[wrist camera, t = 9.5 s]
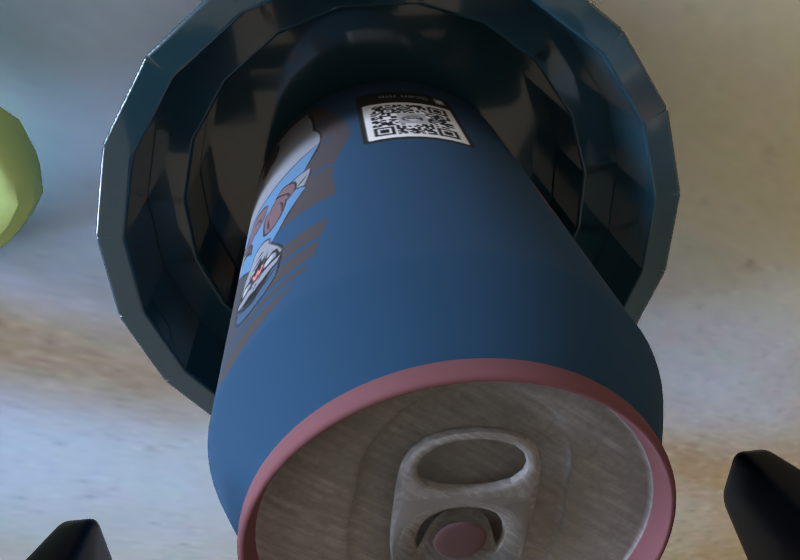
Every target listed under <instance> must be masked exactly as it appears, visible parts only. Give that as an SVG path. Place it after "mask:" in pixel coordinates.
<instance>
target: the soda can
mask: <svg viewBox="0 0 800 560" xmlns="http://www.w3.org/2000/svg"><path fill="white" fill-rule="evenodd" d="M662 434H663V394H662V384H661V379H660V374H659V370H658V367H657V364H656V361H655V357H654V355H653V353H652V350H651V348H650V346H649V344H648V342H647V340H646V339H645V337H644V335H643V333H642V332H641V330H640V329H639V328H638V326H637V325H636V323H635V322H634V321H633V319H632V318H631V317H630V315H629V314H628V312H627V311H626V310H625V308H624V307H623V306H622V304H621V303H620V301H619V300H618V299H617V297H616V296H615V295H614V293H613V292H612V291H611V289H610V288H609V286H608V285H607V284H606V282H605V281H604V280H603V278H602V277H601V275H600V274H599V273H598V271H597V270H596V269H595V267H594V266H593V264H592V263H591V262H590V260H589V259H588V258H587V256H586V255H585V254H584V252H583V251H582V249H581V248H580V247H579V245H578V244H577V243H576V241H575V240H574V238H573V237H572V236H571V234H570V233H569V232H568V230H567V229H566V227H565V226H564V225H563V223H562V222H561V221H560V219H559V218H558V217H557V215H556V214H555V212H554V211H553V210H552V208H551V207H550V206H549V204H548V203H547V201H546V200H545V199H544V197H543V196H542V195H541V193H540V192H539V190H538V189H537V188H536V186H535V185H534V184H533V182H532V181H531V180H530V178H529V177H528V175H527V174H526V173H525V171H524V170H523V169H522V167H521V166H520V164H519V163H518V162H517V160H516V159H515V158H514V156H513V155H512V153H511V152H510V151H509V149H508V148H507V147H506V145H505V144H504V143H503V141H502V140H501V138H500V137H499V136H498V134H497V133H496V132H495V130H494V129H493V127H492V126H491V125H490V124H489V123H488V122H487V121H486V120H485V119H484V118H483V117H482V116H481V115H480V114H479V113H478V112H477V111H476V110H474V109H473V108H472V107H471V106H469V105H468V104H466V103H465V102H463V101H462V100H460V99H458V98H457V97H455V96H453V95H451V94H449V93H447V92H444V91H442V90H439V89H437V88H434V87H431V86H427V85H423V84H419V83H413V82H405V81H376V82H369V83H363V84H359V85H355V86H351V87H348V88H345V89H342V90H340V91H337V92H335V93H332V94H330V95H328V96H326V97H324V98H322V99H321V100H319V101H317V102H316V103H314V104H313V105H311V106H310V107H309V108H307V109H306V110H304V111H303V112H302V113H301V114H300V115H299V116H297V117H296V118H295V119H294V120H293V121H292V122H291V123H290V124H289V125H288V126H287V128H286V129H285V130H284V131H283V132H282V134H281V135H280V136H279V138H278V139H277V141H276V142H275V144H274V145H273V147H272V149H271V150H270V152H269V154H268V156H267V158H266V161H265V163H264V166H263V168H262V171H261V175H260V178H259V183H258V188H257V193H256V198H255V202H254V207H253V212H252V217H251V222H250V227H249V232H248V237H247V242H246V247H245V252H244V256H243V261H242V266H241V271H240V276H239V281H238V286H237V291H236V296H235V301H234V306H233V310H232V315H231V320H230V325H229V330H228V335H227V340H226V345H225V350H224V355H223V360H222V364H221V369H220V374H219V379H218V384H217V389H216V394H215V399H214V404H213V409H212V414H211V419H210V424H209V432H208V458H209V465H210V472H211V476H212V480H213V484H214V487H215V489H216V492H217V495H218V498H219V500H220V502H221V505H222V507H223V509H224V511H225V513H226V515H227V517H228V519H229V521H230V523H231V525H232V527H233V529H234V531H235V532H236V534H237V554H238V560H660V558H661V556H662V554H663V552H664V550H665V547H666V545H667V543H668V540H669V537H670V534H671V531H672V527H673V522H674V517H675V510H676V487H675V480H674V475H673V471H672V468H671V465H670V462H669V459H668V456H667V454H666V452H665V450H664V448H663V446H662Z"/></svg>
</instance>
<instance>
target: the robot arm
mask: <svg viewBox="0 0 800 560" xmlns="http://www.w3.org/2000/svg"><path fill="white" fill-rule="evenodd" d="M724 503H725V507H726V509H727V512H728V514H729V516H730V519H731V521H732V523H733V526H734V528H735V530H736V533H737V535H738V537H739V540H740V542H741V545H742V547H743V549H744V552H745V554H746V556H747V559H748V560H800V469H798V468H796V467H795V466H793V465H791V464H790V463H788V462H787V461H785V460H783V459H782V458H780V457H778V456H777V455H775V454H773V453H771V452H769V451H767V450H753V451H743V452H739V453H738V454H737V455H736V456H735V457H734V459H733V462H732V465H731V469H730V472H729V475H728V479H727V482H726V485H725V489H724ZM26 560H112V558H111V555H110V552H109V550H108V547H107V544H106V542H105V539H104V537H103V534H102V531H101V529H100V526H99V524H98V522H97V521H95V520H94V519H83V520H73V521H66V522H64V523H62V524H61V525H59V526H58V527H57V528H56V529H55V530H54V531H53V532H52V533H51V534H50V535H49V536H48V537H47V538H46V539H45V540H44V541H43V542H42V543H41V545H40V546H39V547H38V548H37V549H36V550H35V551H34V552H33V553H32V554H31V555H30V556H29V557H28V558H27V559H26Z"/></svg>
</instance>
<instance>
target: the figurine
mask: <svg viewBox="0 0 800 560" xmlns="http://www.w3.org/2000/svg"><path fill="white" fill-rule="evenodd" d="M42 193H43V186H42V178H41V170H40V163H39V160H38V156H37V153H36V150H35V149H34V147H33V145H32V143H31V141H30V139H29V137H28V135H27V133H26V131H25V129H24V127H23V126H22V124H21V122H20V120H19V119H18V118H16V117H15V116H13V115H12V114H10V113H9V112H7V111H6V110H4V109H2V108H1V107H0V247H2V246H3V245H5V244H6V243H8V242H9V241H10V240H11V239H12V238H13V236H14V235H15V234H16V233H17V232H18V231H19V229H20V228H21V227H22V226H23V225H24V223H25V222H26V221H27V220H28V218H29V217H30V216H31V215H32V214H33V212H34V209H35V207H36V205H37V203H38V201H39V199H40V197H41V195H42Z"/></svg>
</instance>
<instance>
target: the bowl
mask: <svg viewBox="0 0 800 560" xmlns="http://www.w3.org/2000/svg"><path fill="white" fill-rule="evenodd" d="M376 81H405V82H413V83H419V84H423V85H427V86H431V87H434V88H437V89H439V90H442V91H444V92H447V93H449V94H451V95H453V96H455V97H457V98H458V99H460V100H462V101H463V102H465V103H466V104H468V105H469V106H471V107H472V108H473V109H474V110H476V111H477V112H478V113H479V114H480V115H481V116H482V117H483V118H484V119H485V120H486V121H487V122H488V123H489V124H490V125H491V126H492V127H493V129H494V130H495V132H496V133H497V134H498V136H499V137H500V138H501V140H502V141H503V143H504V144H505V145H506V147H507V148H508V149H509V151H510V152H511V153H512V155H513V156H514V158H515V159H516V160H517V162H518V163H519V164H520V166H521V167H522V169H523V170H524V171H525V173H526V174H527V175H528V177H529V178H530V180H531V181H532V182H533V184H534V185H535V186H536V188H537V189H538V190H539V192H540V193H541V195H542V196H543V197H544V199H545V200H546V201H547V203H548V204H549V206H550V207H551V208H552V210H553V211H554V212H555V214H556V215H557V217H558V218H559V219H560V221H561V222H562V223H563V225H564V226H565V227H566V229H567V230H568V232H569V233H570V234H571V236H572V237H573V238H574V240H575V241H576V243H577V244H578V245H579V247H580V248H581V249H582V251H583V252H584V254H585V255H586V256H587V258H588V259H589V260H590V262H591V263H592V264H593V266H594V267H595V269H596V270H597V271H598V273H599V274H600V275H601V277H602V278H603V280H604V281H605V282H606V284H607V285H608V286H609V288H610V289H611V291H612V292H613V293H614V295H615V296H616V297H617V299H618V300H619V301H620V303H621V304H622V306H623V307H624V308H625V310H626V311H627V312H628V314H629V315H630V317H631V318H632V319H633V321H634V322H635V323H636V325H637V323H638V321H639V319H640V317H641V315H642V313H643V312H644V310H645V308H646V306H647V304H648V302H649V300H650V298H651V297H652V295H653V293H654V291H655V289H656V287H657V285H658V284H659V282H660V280H661V278H662V276H663V274H664V271H665V270H666V265H667V260H668V255H669V250H670V244H671V239H672V234H673V229H674V223H675V218H676V213H677V208H678V202H679V197H680V193H679V192H680V188H679V182H678V175H677V168H676V161H675V155H674V148H673V141H672V135H671V128H670V121H669V115H668V111H667V109H666V105H665V103H664V102H663V100H662V98H661V96H660V94H659V93H658V91H657V89H656V87H655V86H654V84H653V82H652V80H651V78H650V77H649V75H648V73H647V71H646V70H645V68H644V66H643V64H642V62H641V61H640V59H639V57H638V55H637V54H636V52H635V50H634V48H633V46H632V45H631V43H630V41H629V39H628V38H627V36H626V34H625V32H623V31H622V29H621V27H620V26H618V25H617V24H616V23H615V22H613V21H612V20H611V19H610V18H608V17H607V16H606V15H605V14H604V13H602V12H601V11H600V10H599V9H597V8H596V7H595V6H594V5H593V4H591V3H590V2H589V1H588V0H204V1H203V2H202V3H201V4H200V5H199V6H198V7H197V8H196V9H195V10H194V11H193V12H191V13H190V14H189V15H188V16H187V17H186V18H185V19H184V20H183V21H182V22H181V23H180V24H179V25H178V26H177V27H175V28H174V29H173V30H172V31H171V32H170V33H169V34H168V35H167V36H166V37H165V38H164V39H163V40H162V41H161V42H160V43H158V44H157V45H156V46H155V47H154V48H153V49H152V50H151V51H150V52H149V53H148V55H147V56H146V57H145V58H144V60H143V62H142V64H141V66H140V68H139V70H138V72H137V74H136V76H135V78H134V80H133V83H132V85H131V87H130V89H129V91H128V93H127V95H126V97H125V99H124V101H123V103H122V105H121V107H120V110H119V112H118V114H117V116H116V118H115V120H114V122H113V124H112V126H111V128H110V130H109V132H108V134H107V136H106V139H105V141H104V146H103V148H102V159H101V172H100V185H99V197H98V210H97V223H96V234H97V241H98V245H99V248H100V252H101V255H102V259H103V262H104V265H105V269H106V272H107V276H108V279H109V282H110V286H111V289H112V293H113V296H114V300H115V303H116V306H117V310H118V313H119V315H120V317H121V319H122V321H123V322H124V324H125V325H126V326H127V328H128V329H129V331H130V332H131V333H132V335H133V336H134V338H135V339H136V340H137V342H138V343H139V345H140V346H141V347H142V349H143V350H144V352H145V353H146V354H147V356H148V357H149V359H150V360H151V361H152V363H153V364H154V366H155V367H156V368H157V370H158V371H159V373H160V374H161V375H162V377H163V378H164V379H165V380H166V381H167V382H168V383H169V384H170V385H171V386H173V387H174V388H175V389H177V390H178V391H179V392H181V393H182V394H183V395H185V396H186V397H187V398H189V399H190V400H191V401H193V402H194V403H195V404H197V405H198V406H199V407H200V408H202V409H203V410H204V411H206V412H207V413H208V414H210V415H211V414H212V409H213V404H214V399H215V394H216V389H217V384H218V379H219V374H220V369H221V364H222V360H223V355H224V350H225V345H226V340H227V335H228V330H229V325H230V320H231V315H232V310H233V306H234V301H235V296H236V291H237V286H238V281H239V276H240V271H241V266H242V261H243V256H244V252H245V247H246V242H247V237H248V232H249V227H250V222H251V217H252V212H253V207H254V202H255V198H256V193H257V188H258V183H259V178H260V175H261V171H262V168H263V166H264V163H265V161H266V158H267V156H268V154H269V152H270V150H271V149H272V147H273V145H274V144H275V142H276V141H277V139H278V138H279V136H280V135H281V134H282V132H283V131H284V130H285V129H286V128H287V126H288V125H289V124H290V123H291V122H292V121H293V120H294V119H295V118H296V117H297V116H299V115H300V114H301V113H302V112H303V111H304V110H306V109H307V108H309V107H310V106H311V105H313V104H314V103H316V102H317V101H319V100H321V99H322V98H324V97H326V96H328V95H330V94H332V93H335V92H337V91H340V90H342V89H345V88H348V87H351V86H355V85H359V84H363V83H369V82H376Z"/></svg>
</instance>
